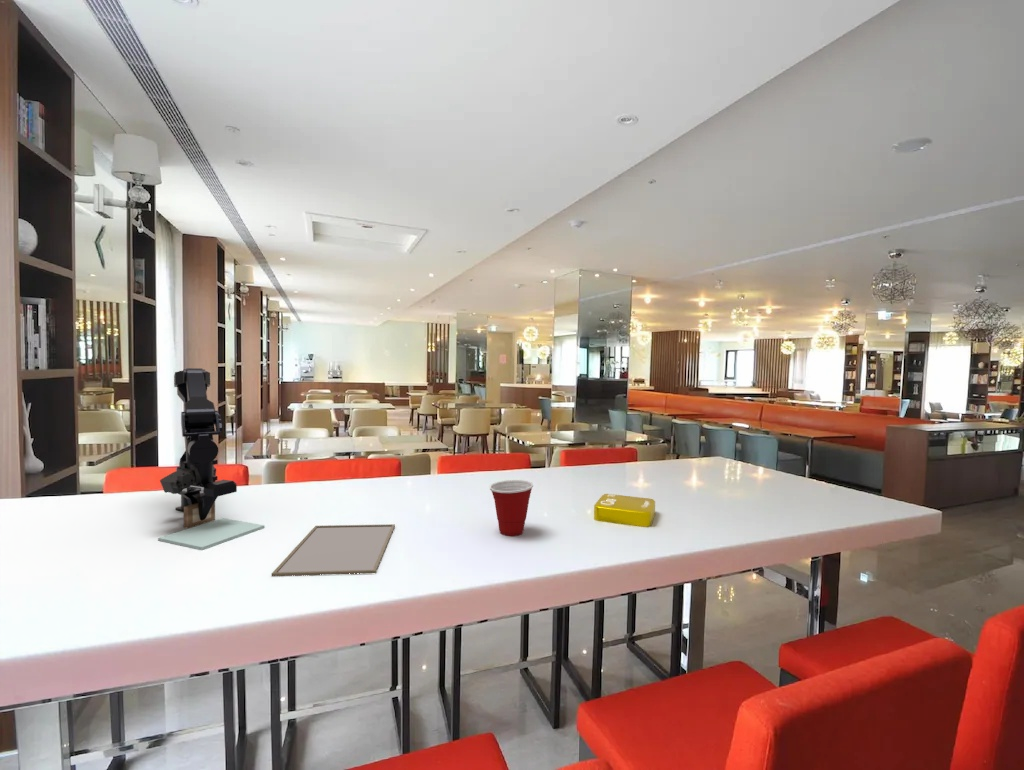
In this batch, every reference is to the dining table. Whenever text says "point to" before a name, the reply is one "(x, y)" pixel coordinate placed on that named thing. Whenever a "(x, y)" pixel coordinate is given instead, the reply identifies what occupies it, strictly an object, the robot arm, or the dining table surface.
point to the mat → (211, 533)
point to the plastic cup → (511, 505)
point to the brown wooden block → (196, 515)
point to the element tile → (625, 510)
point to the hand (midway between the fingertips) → (200, 519)
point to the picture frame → (338, 550)
